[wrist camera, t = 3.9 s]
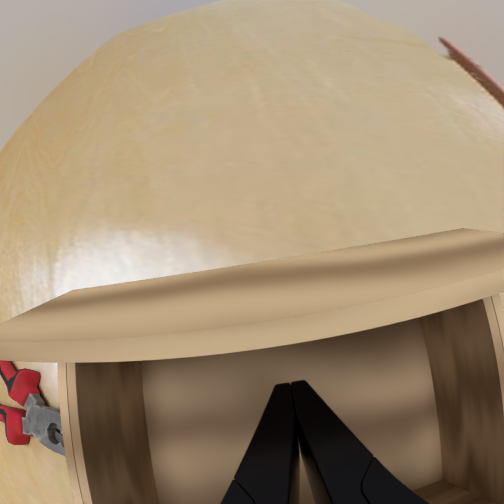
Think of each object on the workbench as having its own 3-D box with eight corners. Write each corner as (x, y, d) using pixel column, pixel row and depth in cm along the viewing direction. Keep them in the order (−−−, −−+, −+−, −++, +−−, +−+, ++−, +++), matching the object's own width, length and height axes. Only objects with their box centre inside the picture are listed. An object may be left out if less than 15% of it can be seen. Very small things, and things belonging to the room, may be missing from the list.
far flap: (577, 262, 6) (578, 244, 6) (-29, 357, 7) (-35, 341, 7) (463, 239, 14) (462, 228, 14) (75, 300, 15) (72, 290, 15)
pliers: (-51, 385, 20) (72, 499, 15) (-39, 318, 23) (87, 403, 18) (-33, 390, 23) (94, 492, 18) (-20, 325, 26) (111, 404, 21)
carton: (452, 484, 15) (518, 512, 7) (153, 529, 16) (97, 576, 8) (423, 288, 22) (479, 237, 14) (128, 334, 23) (58, 303, 15)
